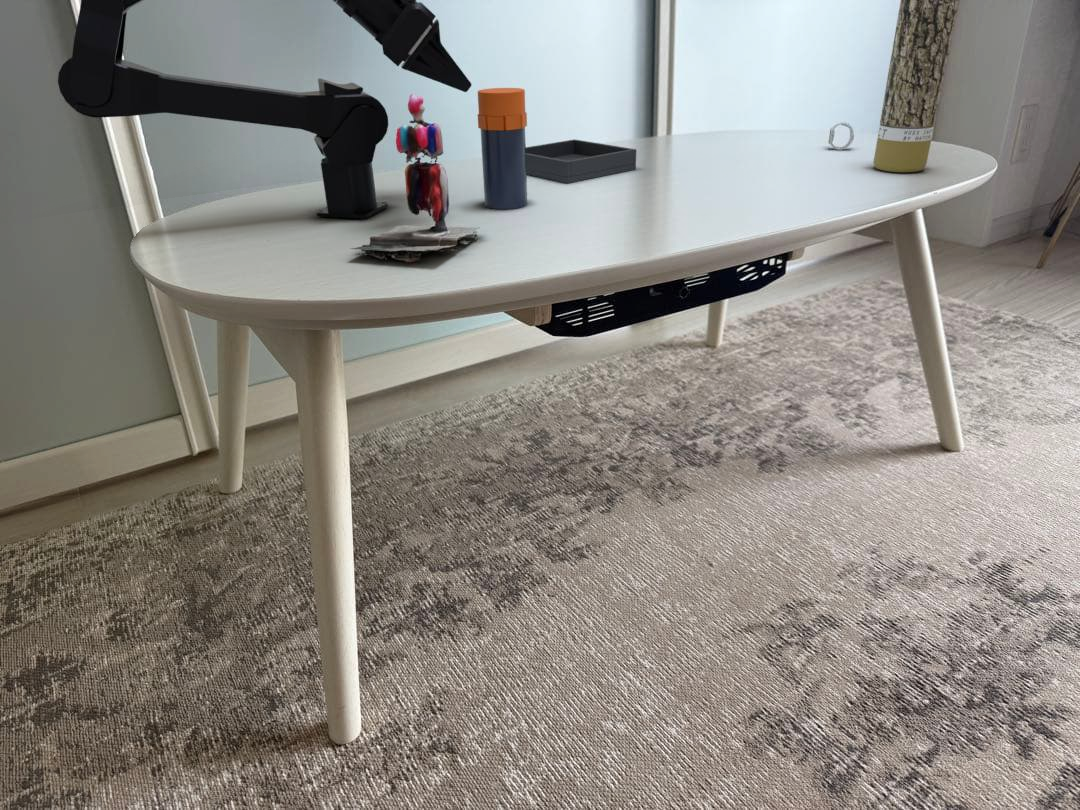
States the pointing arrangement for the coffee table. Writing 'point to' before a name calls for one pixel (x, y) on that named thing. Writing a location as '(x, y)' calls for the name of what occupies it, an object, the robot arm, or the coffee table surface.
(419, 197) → the statue
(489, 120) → the spray can cap
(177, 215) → the coffee table surface
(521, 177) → the spray can
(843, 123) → the grey ring
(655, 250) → the coffee table surface
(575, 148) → the tray
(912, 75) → the paper tube
